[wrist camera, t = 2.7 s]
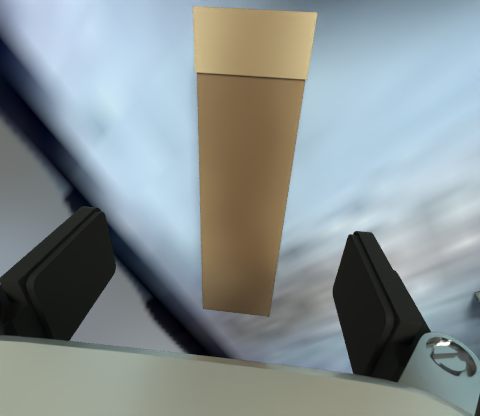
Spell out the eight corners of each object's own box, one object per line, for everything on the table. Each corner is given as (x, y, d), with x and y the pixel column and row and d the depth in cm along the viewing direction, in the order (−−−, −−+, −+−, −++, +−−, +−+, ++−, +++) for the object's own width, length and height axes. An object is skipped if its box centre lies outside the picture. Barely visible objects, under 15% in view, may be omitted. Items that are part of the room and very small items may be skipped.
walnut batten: (212, 268, 20) (201, 309, 17) (212, 13, 13) (192, 6, 10) (270, 275, 20) (269, 318, 17) (306, 18, 12) (317, 12, 9)
